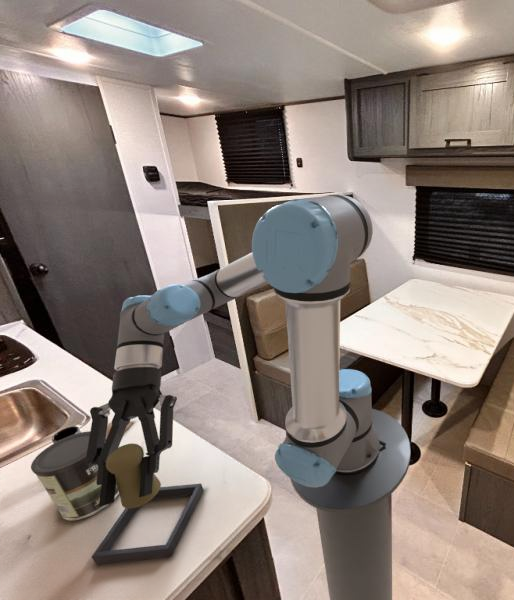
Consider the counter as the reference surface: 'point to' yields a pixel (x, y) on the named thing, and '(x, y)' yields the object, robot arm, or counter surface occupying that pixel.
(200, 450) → the counter surface
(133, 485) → the pepper shaker
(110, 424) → the coaster
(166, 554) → the open rectangular frame
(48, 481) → the coffee can
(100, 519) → the counter surface
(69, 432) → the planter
